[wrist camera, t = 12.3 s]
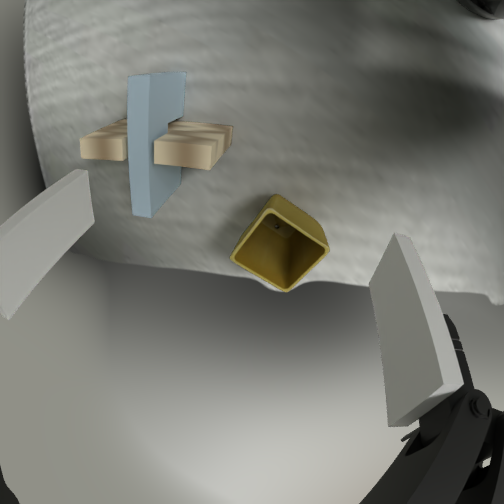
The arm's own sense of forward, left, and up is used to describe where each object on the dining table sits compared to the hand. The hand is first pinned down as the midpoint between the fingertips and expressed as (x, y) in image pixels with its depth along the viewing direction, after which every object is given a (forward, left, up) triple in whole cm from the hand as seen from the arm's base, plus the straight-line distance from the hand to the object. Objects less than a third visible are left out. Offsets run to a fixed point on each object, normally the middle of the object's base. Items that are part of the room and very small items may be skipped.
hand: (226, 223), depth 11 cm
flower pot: (+7, +12, -27) cm, 30 cm away
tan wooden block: (+11, -7, -27) cm, 30 cm away
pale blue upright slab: (+11, -7, -27) cm, 30 cm away
